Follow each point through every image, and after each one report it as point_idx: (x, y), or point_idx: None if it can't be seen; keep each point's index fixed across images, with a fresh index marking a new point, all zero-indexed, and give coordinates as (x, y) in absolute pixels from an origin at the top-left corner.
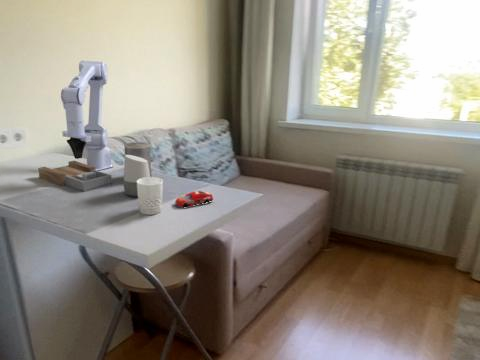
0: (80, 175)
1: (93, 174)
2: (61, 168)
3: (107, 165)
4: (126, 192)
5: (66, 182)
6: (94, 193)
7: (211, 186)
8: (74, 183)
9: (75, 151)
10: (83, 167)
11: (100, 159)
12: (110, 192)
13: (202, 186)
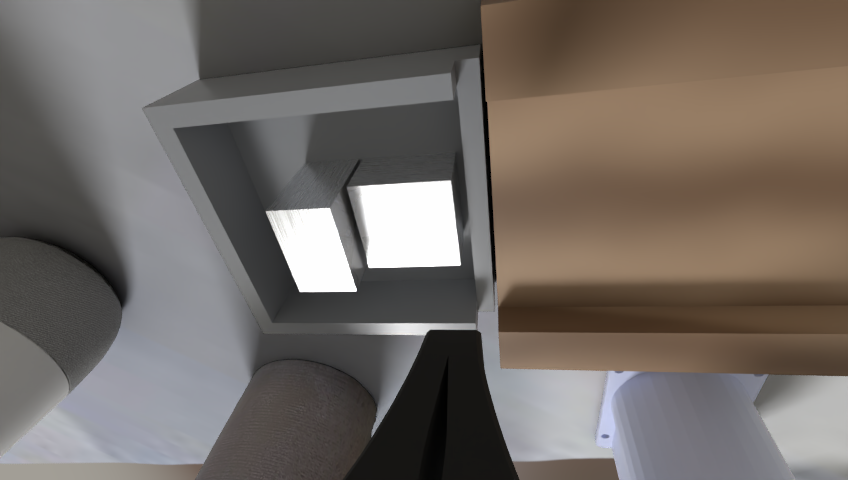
0: (418, 207)
1: (295, 265)
2: (844, 214)
3: (616, 438)
4: (7, 239)
5: (446, 55)
6: (135, 118)
7: (96, 454)
8: (304, 77)
9: (385, 425)
10: (594, 324)
11: (628, 464)
12: (126, 202)
13: (104, 444)
